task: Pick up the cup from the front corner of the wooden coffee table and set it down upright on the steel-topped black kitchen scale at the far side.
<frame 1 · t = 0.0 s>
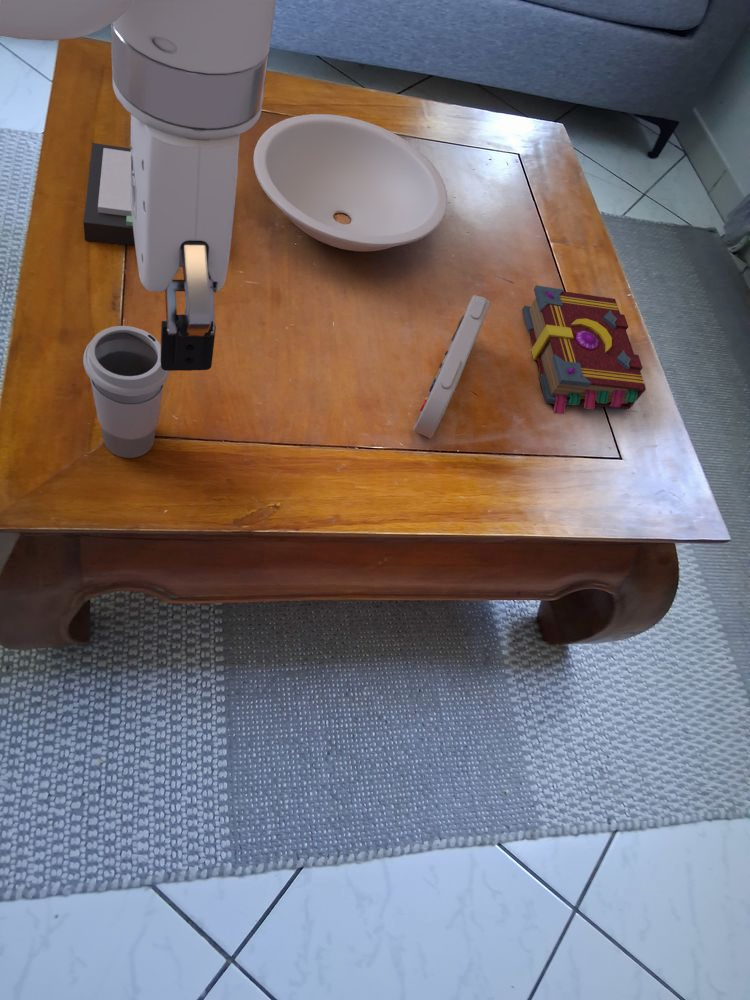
hand: (177, 312, 52), 22 cm above the table, tool pointing down, fingers open, 9 cm apart
scale: (152, 207, 90), on the table
game controller: (440, 389, 86), on the table
decorative book: (573, 365, 94), on the table
white sink basin: (341, 221, 97), on the table
cup: (128, 439, 72), on the table
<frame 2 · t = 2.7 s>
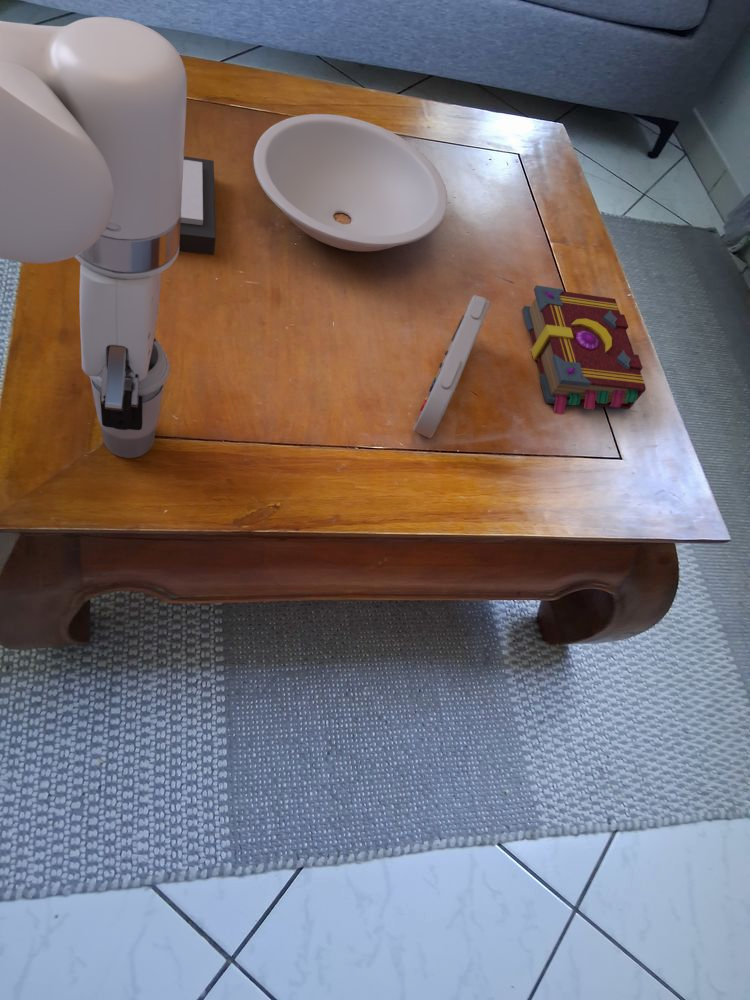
hand: (127, 389, 66), 7 cm above the table, tool pointing down, fingers closed on cup, 7 cm apart
cup: (128, 439, 72), on the table, touching gripper
everything else where it was.
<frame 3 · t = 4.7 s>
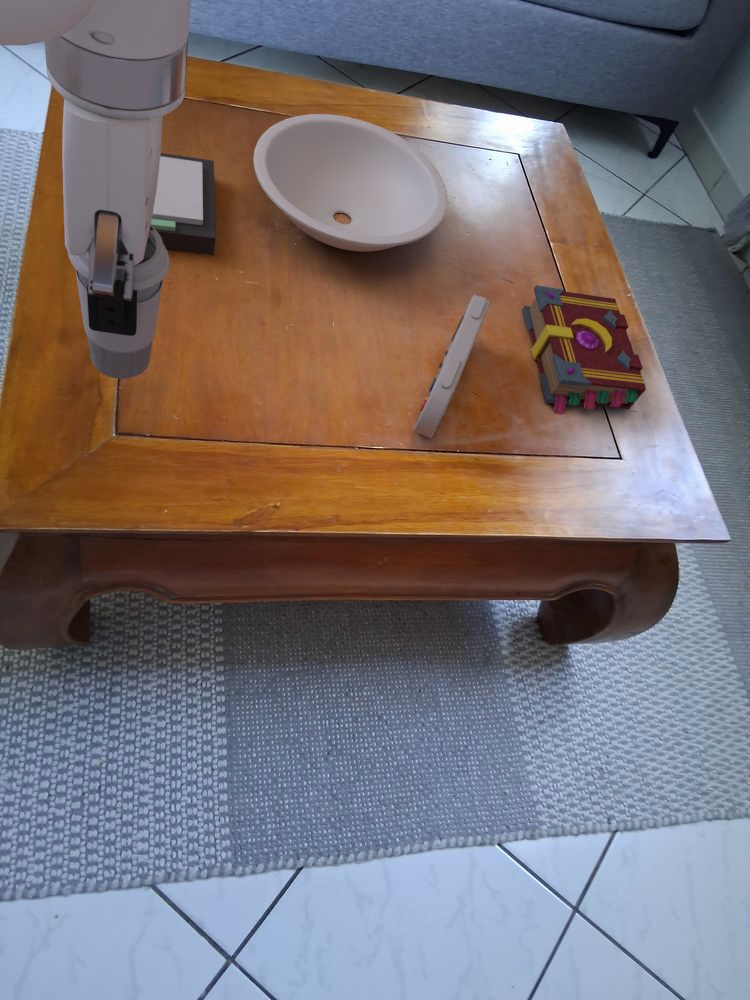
hand: (119, 291, 57), 19 cm above the table, tool pointing down, fingers closed on cup, 7 cm apart
cup: (120, 359, 63), point 11 cm above the table, touching gripper
everything else where it was.
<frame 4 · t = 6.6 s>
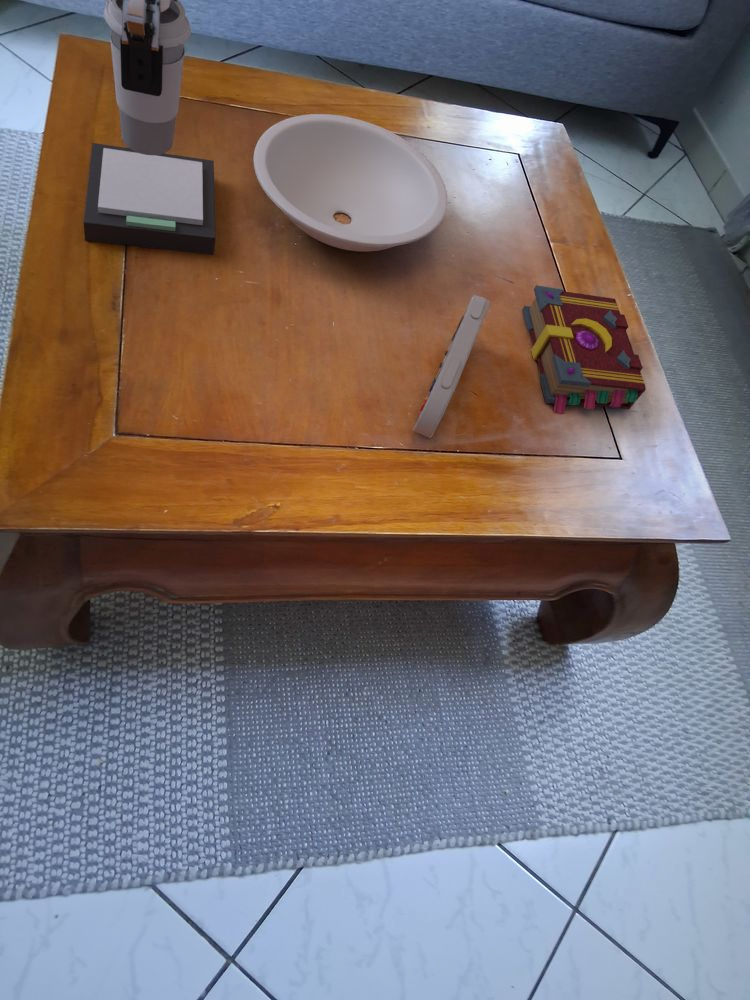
hand: (147, 64, 65), 23 cm above the table, tool pointing down, fingers closed on cup, 7 cm apart
cup: (147, 141, 71), point 16 cm above the table, touching gripper
everything else where it was.
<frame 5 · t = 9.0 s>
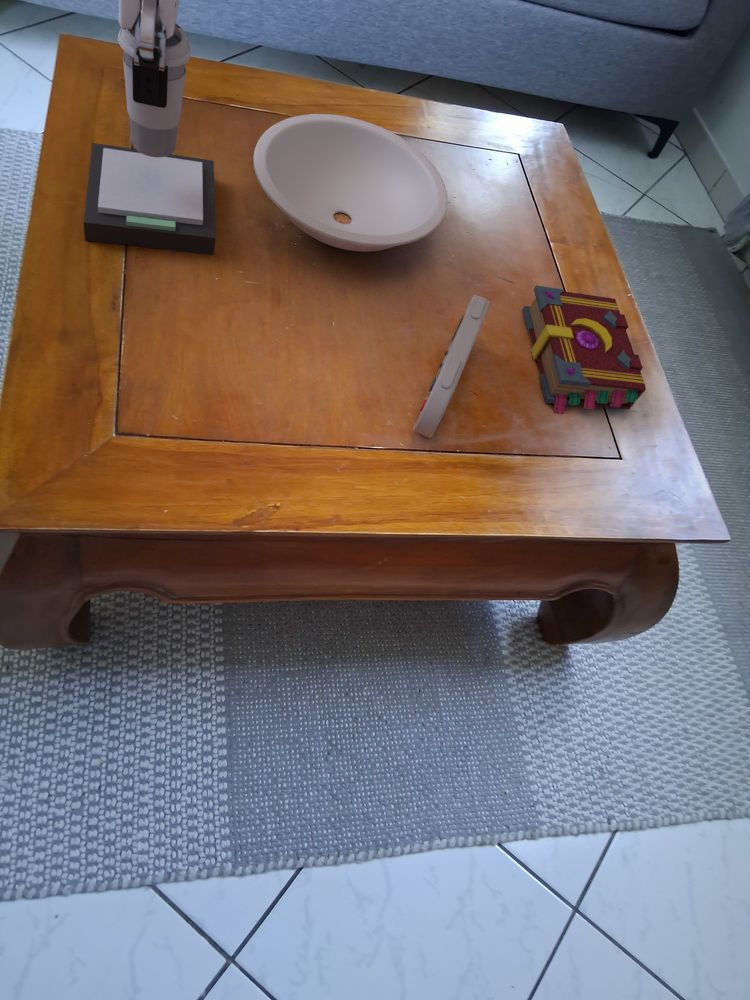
hand: (153, 80, 77), 15 cm above the table, tool pointing down, fingers closed on cup, 7 cm apart
cup: (153, 145, 83), point 8 cm above the table, touching gripper
everything else where it was.
when the fingers open (10 cm above the table, at t = 10.8 s): cup stays where it is, resting on scale.
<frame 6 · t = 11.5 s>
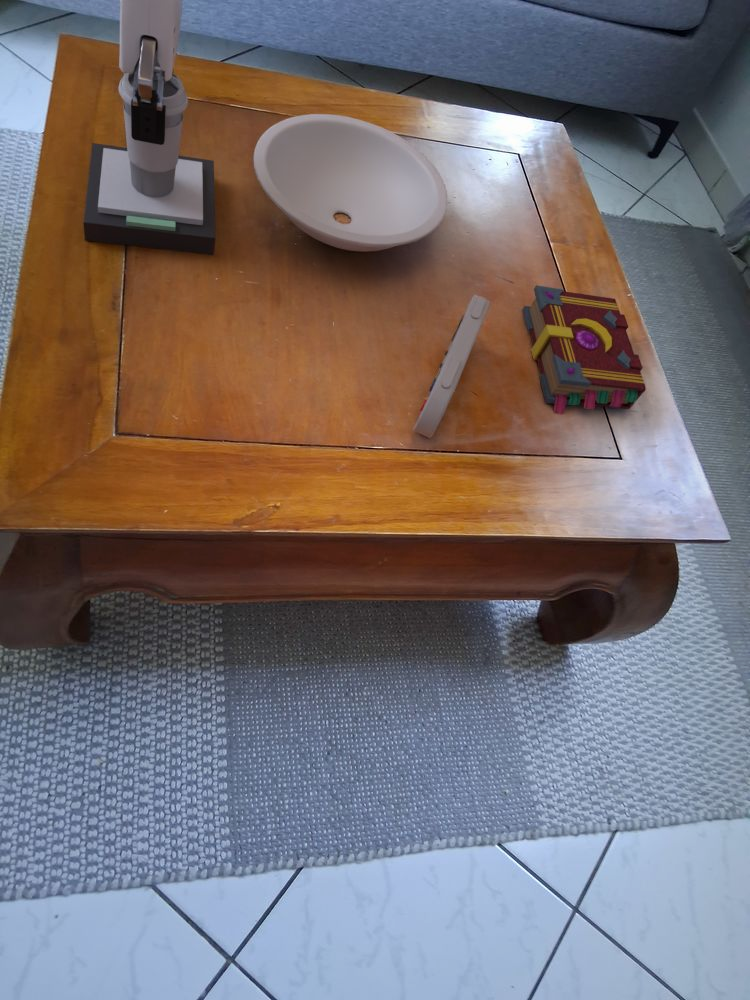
hand: (152, 113, 80), 12 cm above the table, tool pointing down, fingers open, 9 cm apart
cup: (152, 185, 87), point 3 cm above the table, touching scale
everything else where it was.
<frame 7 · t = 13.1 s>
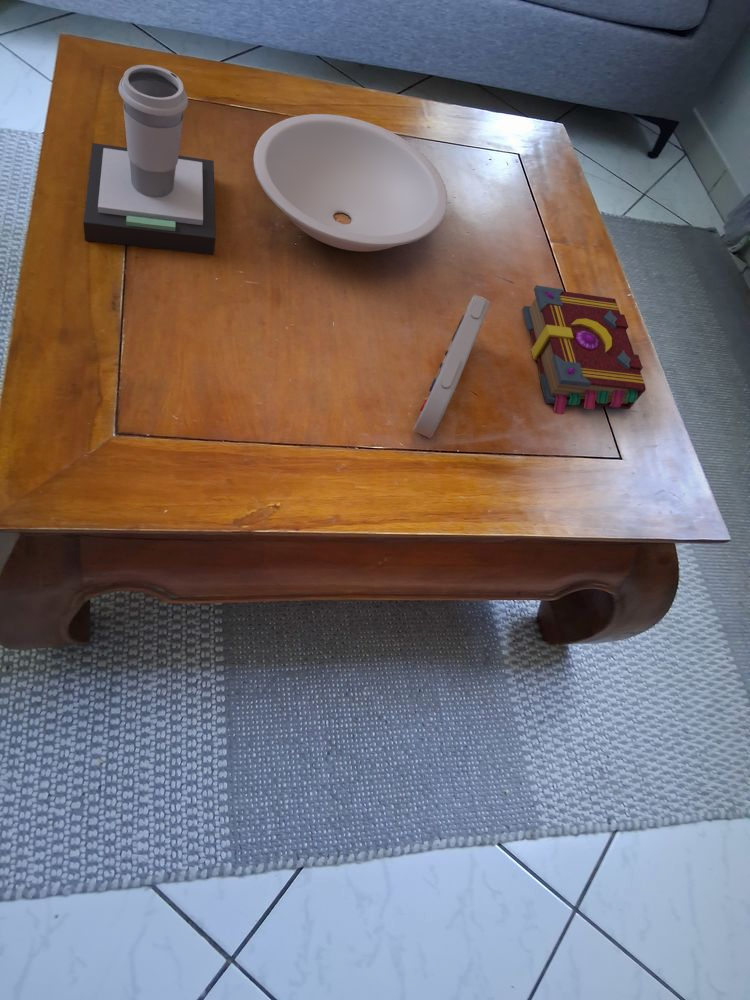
nothing on the table moved.
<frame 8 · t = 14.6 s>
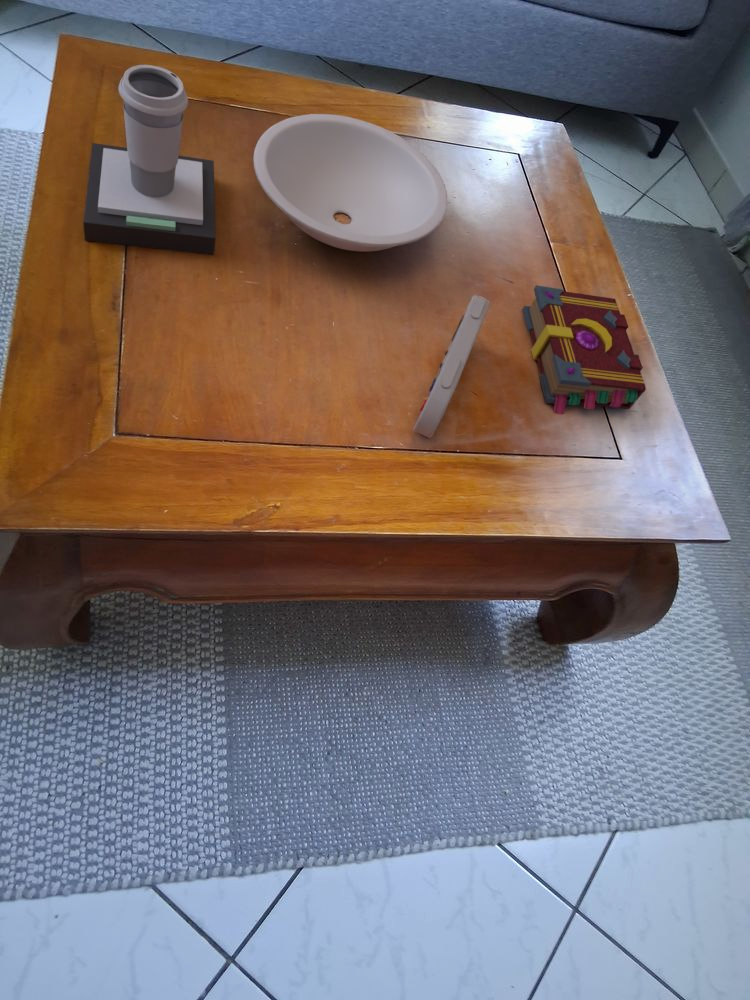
nothing on the table moved.
at the end: cup inside the target area on the scale (0.1 cm from its centre), point 3.1 cm above the scale's base; cup tilted 0°; the gripper is holding nothing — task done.
